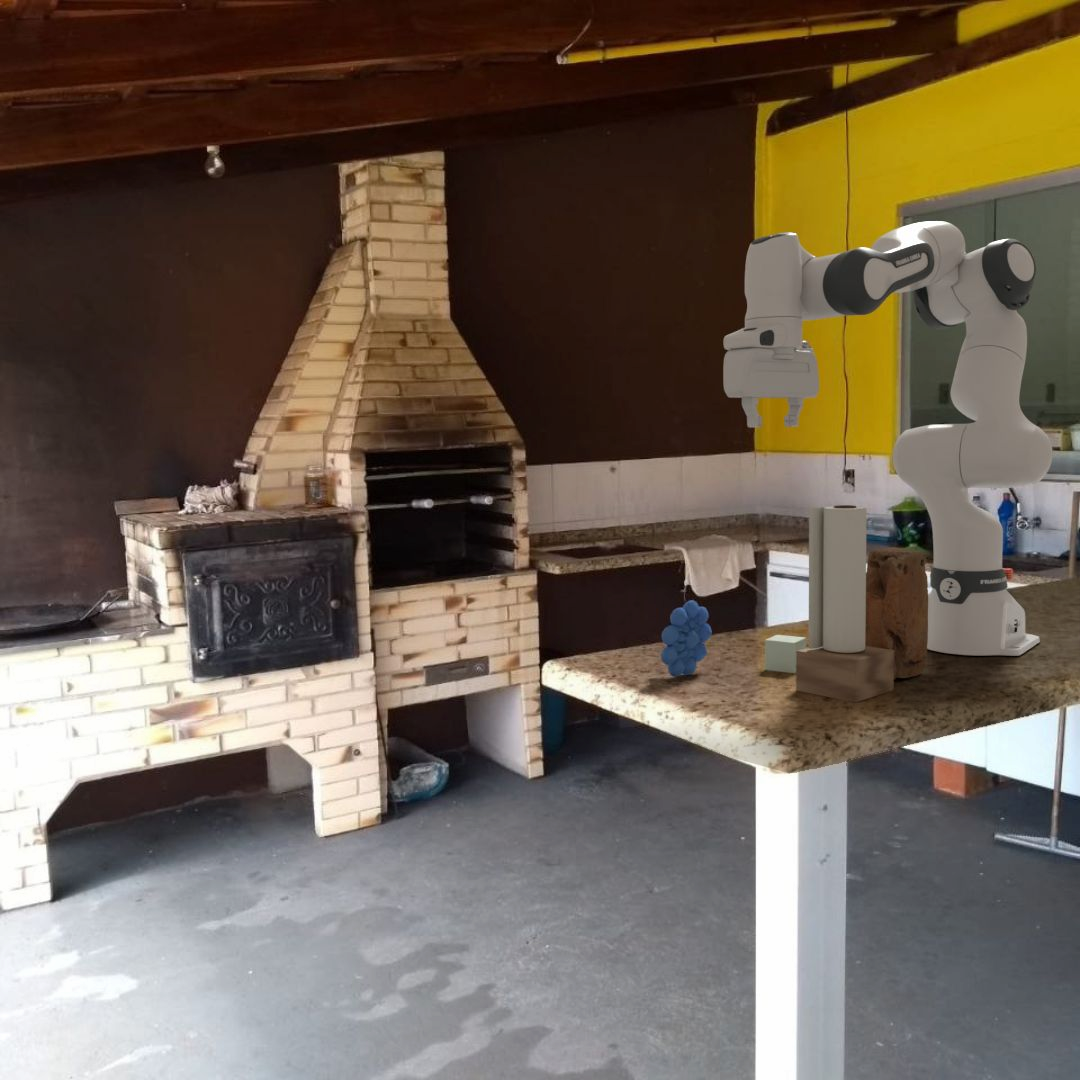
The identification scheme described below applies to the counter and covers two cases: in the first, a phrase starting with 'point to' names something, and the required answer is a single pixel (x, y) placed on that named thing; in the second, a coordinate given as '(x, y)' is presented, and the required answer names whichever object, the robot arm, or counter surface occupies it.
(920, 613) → the block
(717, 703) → the counter surface
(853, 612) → the paper towel roll
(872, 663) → the walnut block
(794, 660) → the green cube
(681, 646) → the grapes
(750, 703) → the counter surface
